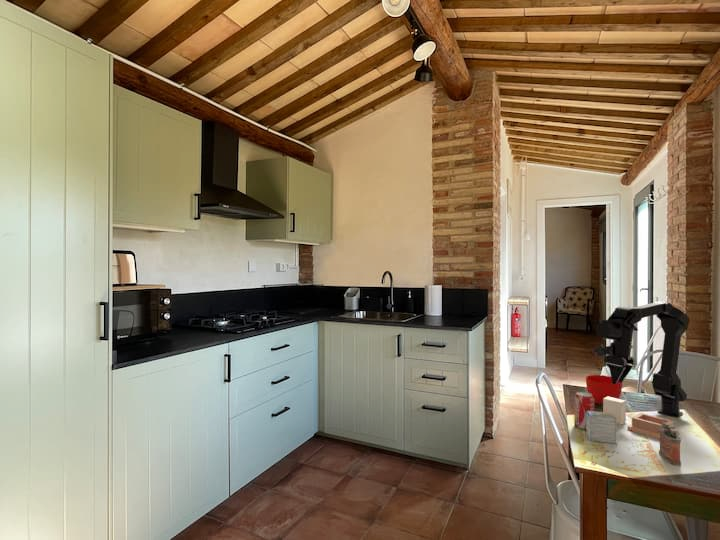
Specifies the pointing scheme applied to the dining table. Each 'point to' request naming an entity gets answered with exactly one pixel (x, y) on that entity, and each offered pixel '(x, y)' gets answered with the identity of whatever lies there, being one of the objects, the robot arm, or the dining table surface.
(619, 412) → the plug
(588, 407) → the beverage can
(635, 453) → the dining table surface
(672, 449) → the lighter
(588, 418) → the medicine box
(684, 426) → the dining table surface
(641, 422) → the dock
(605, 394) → the red bowl
